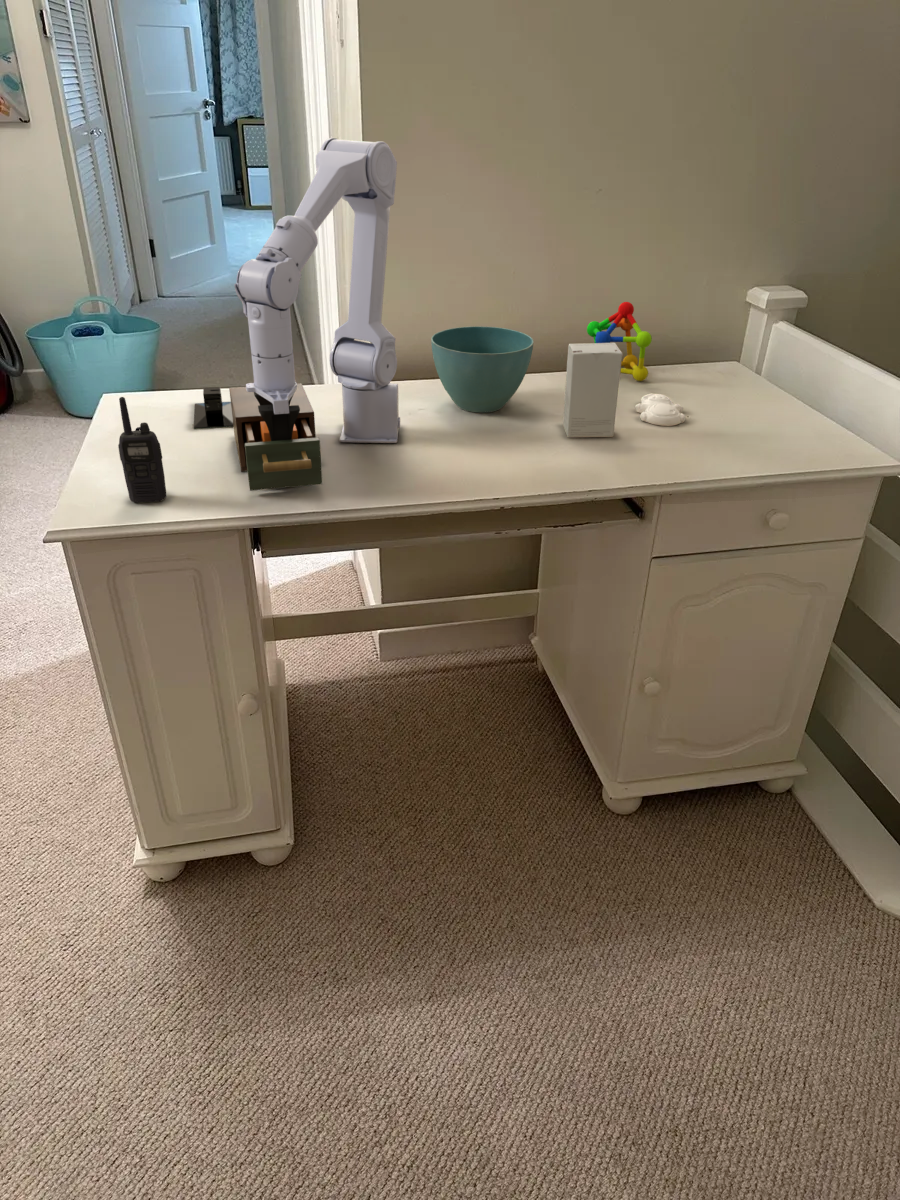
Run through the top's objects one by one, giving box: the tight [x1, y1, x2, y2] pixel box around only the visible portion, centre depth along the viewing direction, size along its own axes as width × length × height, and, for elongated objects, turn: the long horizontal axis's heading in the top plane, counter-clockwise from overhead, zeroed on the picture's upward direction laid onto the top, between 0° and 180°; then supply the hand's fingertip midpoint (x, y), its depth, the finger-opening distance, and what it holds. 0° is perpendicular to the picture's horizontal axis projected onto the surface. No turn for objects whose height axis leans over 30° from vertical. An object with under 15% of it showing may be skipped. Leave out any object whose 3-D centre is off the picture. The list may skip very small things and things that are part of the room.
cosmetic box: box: [562, 342, 623, 438], centre depth 145 cm, size 8×6×15 cm
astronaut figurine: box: [634, 393, 686, 427], centre depth 157 cm, size 9×12×3 cm
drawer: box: [244, 418, 323, 492], centre depth 126 cm, size 18×10×7 cm, turn 16°
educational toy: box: [586, 301, 653, 382], centre depth 173 cm, size 16×13×15 cm
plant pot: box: [430, 325, 534, 414], centre depth 156 cm, size 18×18×12 cm
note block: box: [260, 421, 298, 442], centre depth 126 cm, size 5×5×4 cm
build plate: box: [191, 386, 234, 430], centre depth 150 cm, size 12×7×5 cm, turn 13°
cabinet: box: [228, 382, 317, 473], centre depth 136 cm, size 14×12×9 cm
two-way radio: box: [117, 396, 167, 504], centre depth 119 cm, size 6×4×15 cm
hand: (280, 445), depth 126 cm, fingers closed on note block, 5 cm apart
